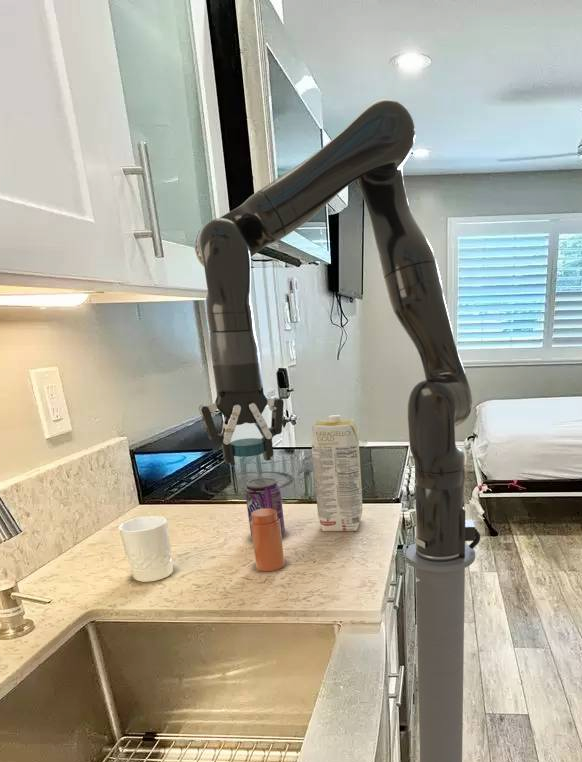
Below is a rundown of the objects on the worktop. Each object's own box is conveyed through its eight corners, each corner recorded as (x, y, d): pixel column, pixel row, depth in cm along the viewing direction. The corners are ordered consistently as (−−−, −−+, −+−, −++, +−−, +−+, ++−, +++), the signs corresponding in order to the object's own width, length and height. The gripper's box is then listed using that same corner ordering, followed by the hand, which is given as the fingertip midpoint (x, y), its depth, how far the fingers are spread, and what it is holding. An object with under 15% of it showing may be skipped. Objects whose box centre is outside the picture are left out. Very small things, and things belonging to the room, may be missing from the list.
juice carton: (364, 519, 128) (358, 412, 119) (361, 532, 121) (354, 419, 112) (323, 520, 129) (313, 413, 120) (317, 533, 122) (307, 420, 113)
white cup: (183, 573, 105) (174, 522, 101) (140, 587, 100) (128, 534, 96) (165, 561, 110) (155, 512, 106) (123, 574, 105) (111, 524, 101)
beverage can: (247, 534, 122) (240, 480, 118) (280, 528, 125) (273, 475, 121) (256, 545, 116) (248, 488, 112) (289, 538, 119) (283, 483, 115)
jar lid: (228, 451, 99) (226, 441, 99) (260, 447, 102) (258, 436, 101) (236, 458, 95) (234, 447, 94) (269, 453, 97) (267, 442, 96)
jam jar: (287, 559, 109) (281, 507, 105) (281, 571, 104) (274, 516, 100) (260, 560, 109) (253, 507, 105) (253, 571, 105) (245, 517, 101)
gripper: (272, 356, 99) (283, 452, 105) (186, 362, 92) (202, 464, 99) (286, 359, 92) (296, 461, 99) (194, 365, 86) (211, 473, 93)
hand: (249, 462), depth 99 cm, fingers closed on jar lid, 5 cm apart
